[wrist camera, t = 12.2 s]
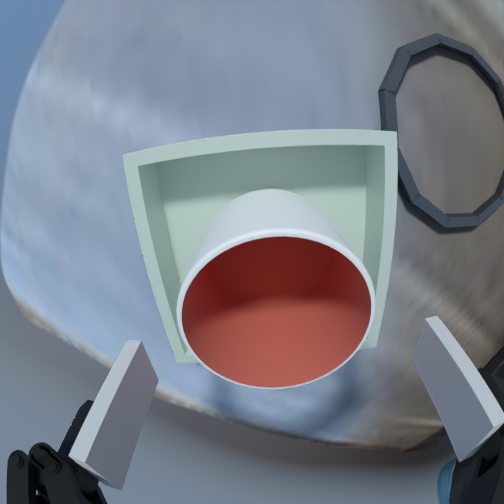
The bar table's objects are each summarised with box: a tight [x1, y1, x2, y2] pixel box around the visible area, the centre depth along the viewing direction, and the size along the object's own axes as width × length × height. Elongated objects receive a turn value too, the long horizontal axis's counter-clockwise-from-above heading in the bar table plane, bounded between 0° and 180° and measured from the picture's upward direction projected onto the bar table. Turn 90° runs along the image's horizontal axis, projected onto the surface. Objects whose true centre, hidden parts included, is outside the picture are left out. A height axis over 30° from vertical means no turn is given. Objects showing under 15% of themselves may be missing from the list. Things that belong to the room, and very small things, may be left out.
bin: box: [123, 129, 398, 363], centre depth 21 cm, size 18×18×4 cm
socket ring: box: [378, 33, 504, 228], centre depth 17 cm, size 18×18×1 cm
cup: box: [176, 189, 376, 389], centre depth 18 cm, size 10×10×10 cm
